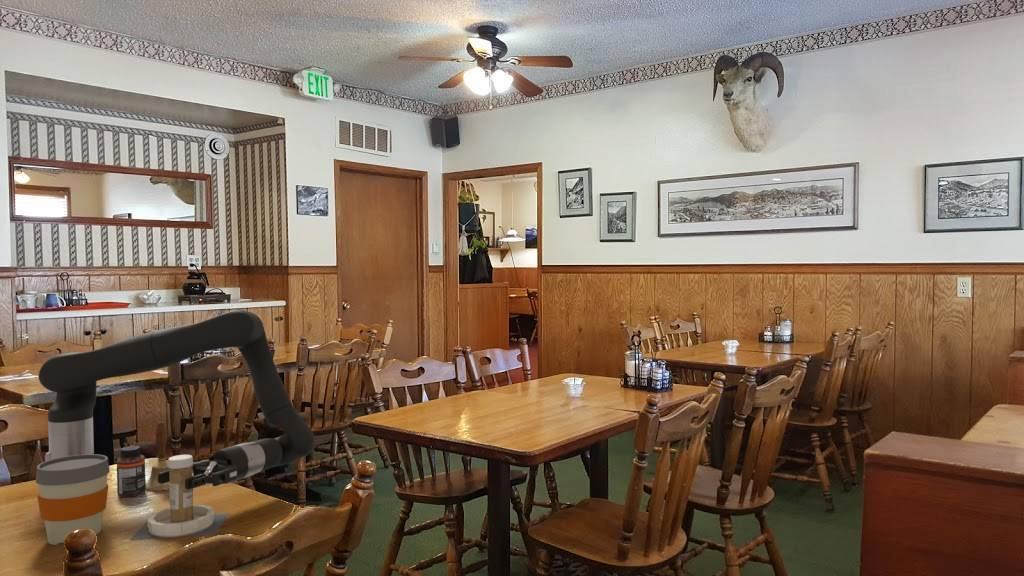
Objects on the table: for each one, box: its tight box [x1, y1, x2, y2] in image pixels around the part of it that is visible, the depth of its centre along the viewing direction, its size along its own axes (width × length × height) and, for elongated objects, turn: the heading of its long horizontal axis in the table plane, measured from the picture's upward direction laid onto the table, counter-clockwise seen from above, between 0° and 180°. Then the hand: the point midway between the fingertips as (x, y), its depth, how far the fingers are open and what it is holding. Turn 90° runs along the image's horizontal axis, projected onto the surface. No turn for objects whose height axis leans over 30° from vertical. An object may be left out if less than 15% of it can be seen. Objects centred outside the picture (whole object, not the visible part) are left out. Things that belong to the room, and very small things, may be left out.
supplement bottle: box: [116, 445, 147, 499], centre depth 165 cm, size 6×6×11 cm
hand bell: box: [146, 421, 169, 492], centre depth 172 cm, size 8×8×16 cm
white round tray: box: [146, 503, 215, 538], centre depth 143 cm, size 12×12×2 cm
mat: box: [129, 513, 230, 541], centre depth 143 cm, size 16×12×1 cm
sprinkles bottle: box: [167, 454, 194, 523], centre depth 143 cm, size 5×5×13 cm
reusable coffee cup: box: [35, 453, 111, 546], centre depth 139 cm, size 13×13×15 cm
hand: (172, 481), depth 141 cm, fingers open, 8 cm apart
